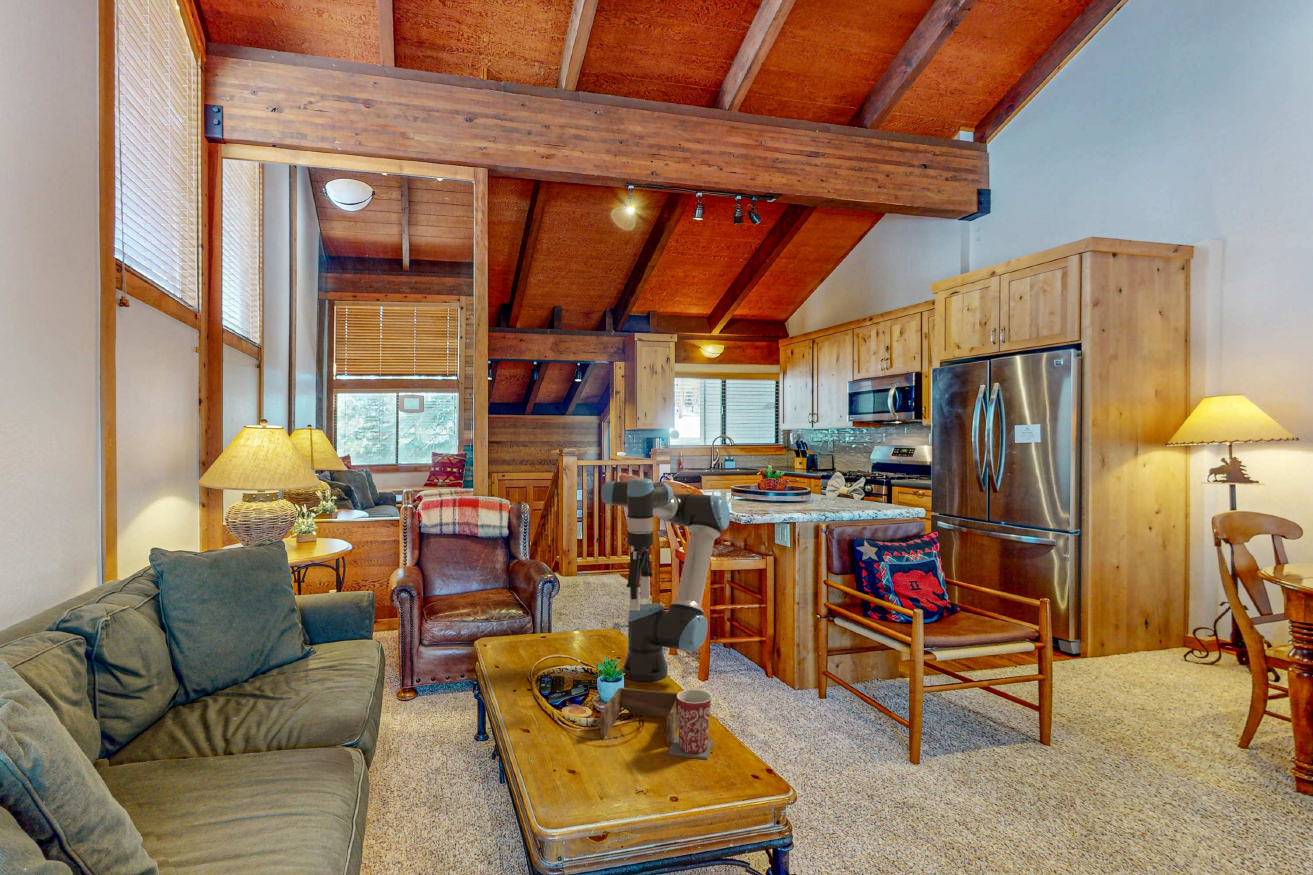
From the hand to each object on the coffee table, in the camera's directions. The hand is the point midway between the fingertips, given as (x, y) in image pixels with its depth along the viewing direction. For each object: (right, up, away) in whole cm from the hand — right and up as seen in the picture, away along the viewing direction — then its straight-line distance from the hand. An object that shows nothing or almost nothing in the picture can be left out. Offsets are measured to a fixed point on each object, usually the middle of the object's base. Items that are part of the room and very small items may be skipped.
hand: (639, 603), depth 200 cm
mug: (+14, -31, -23) cm, 41 cm away
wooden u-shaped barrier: (+1, -32, -11) cm, 33 cm away
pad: (+14, -32, -23) cm, 42 cm away
